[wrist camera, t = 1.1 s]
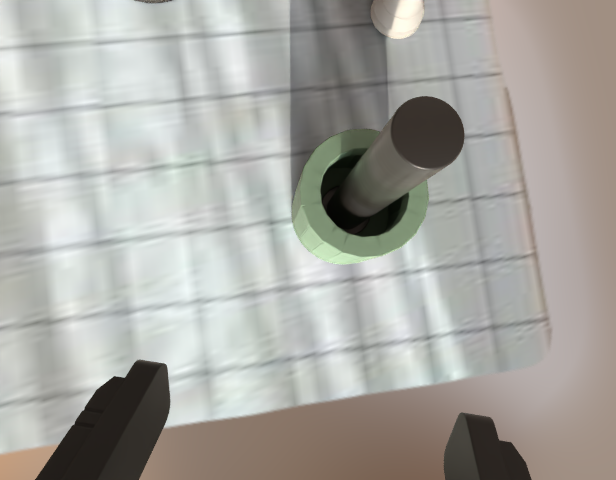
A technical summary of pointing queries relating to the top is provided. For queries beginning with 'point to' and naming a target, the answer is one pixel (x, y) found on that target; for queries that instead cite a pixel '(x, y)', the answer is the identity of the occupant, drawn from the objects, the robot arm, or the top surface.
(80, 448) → the robot arm
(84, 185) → the top surface
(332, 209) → the rod
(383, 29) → the rook chess piece
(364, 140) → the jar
